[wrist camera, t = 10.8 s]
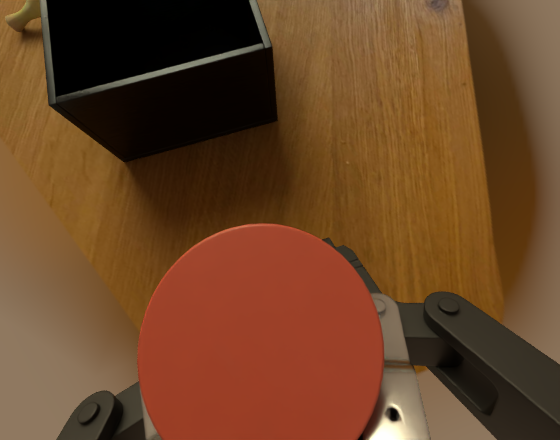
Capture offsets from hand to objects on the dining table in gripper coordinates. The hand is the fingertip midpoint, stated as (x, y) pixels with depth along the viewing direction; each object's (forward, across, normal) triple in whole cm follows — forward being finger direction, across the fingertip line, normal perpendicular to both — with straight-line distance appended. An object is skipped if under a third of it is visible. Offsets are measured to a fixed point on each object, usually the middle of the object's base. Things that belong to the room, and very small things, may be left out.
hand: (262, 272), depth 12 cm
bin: (+27, +4, -7) cm, 28 cm away
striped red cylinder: (+2, 0, +5) cm, 6 cm away
